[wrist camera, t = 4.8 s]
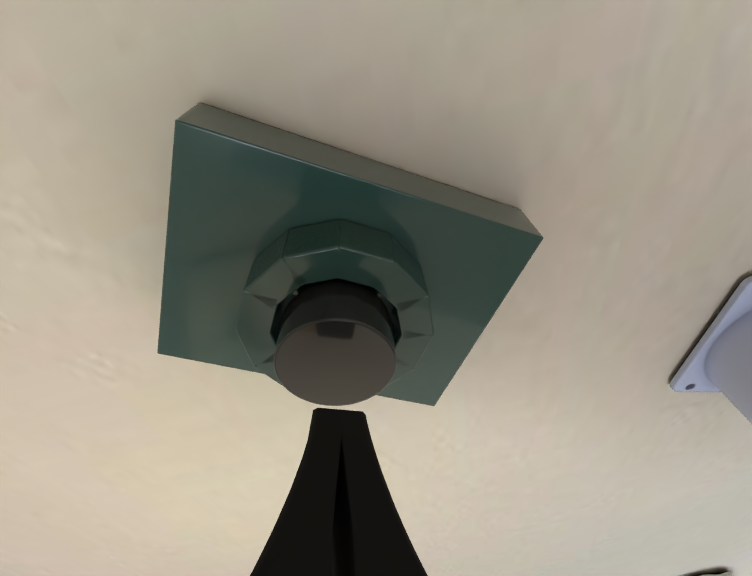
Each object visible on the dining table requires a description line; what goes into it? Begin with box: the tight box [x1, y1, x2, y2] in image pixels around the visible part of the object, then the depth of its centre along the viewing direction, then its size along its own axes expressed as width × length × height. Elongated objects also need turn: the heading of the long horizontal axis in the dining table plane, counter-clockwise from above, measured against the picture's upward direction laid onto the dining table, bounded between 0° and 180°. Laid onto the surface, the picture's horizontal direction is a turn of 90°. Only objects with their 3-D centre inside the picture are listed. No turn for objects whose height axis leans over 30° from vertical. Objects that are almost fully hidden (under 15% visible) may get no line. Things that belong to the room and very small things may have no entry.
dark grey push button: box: [274, 282, 397, 406], centre depth 14 cm, size 4×4×2 cm
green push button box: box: [158, 103, 543, 406], centre depth 17 cm, size 13×10×4 cm
